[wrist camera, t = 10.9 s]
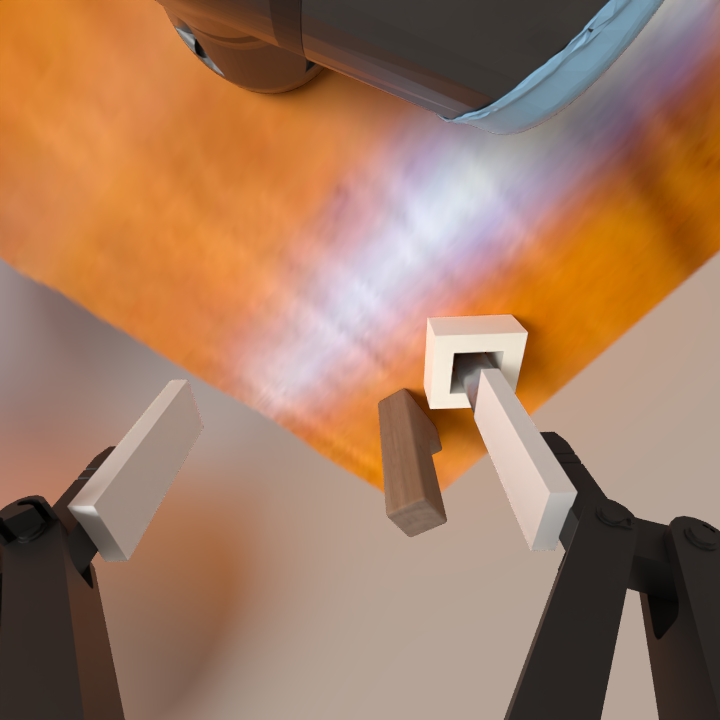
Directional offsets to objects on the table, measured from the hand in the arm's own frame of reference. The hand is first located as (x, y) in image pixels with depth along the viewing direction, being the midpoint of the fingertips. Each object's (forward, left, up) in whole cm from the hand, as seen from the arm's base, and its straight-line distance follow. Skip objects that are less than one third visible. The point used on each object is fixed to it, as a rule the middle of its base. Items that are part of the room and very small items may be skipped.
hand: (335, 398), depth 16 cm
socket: (+13, +14, -27) cm, 33 cm away
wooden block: (+23, +7, -27) cm, 36 cm away
